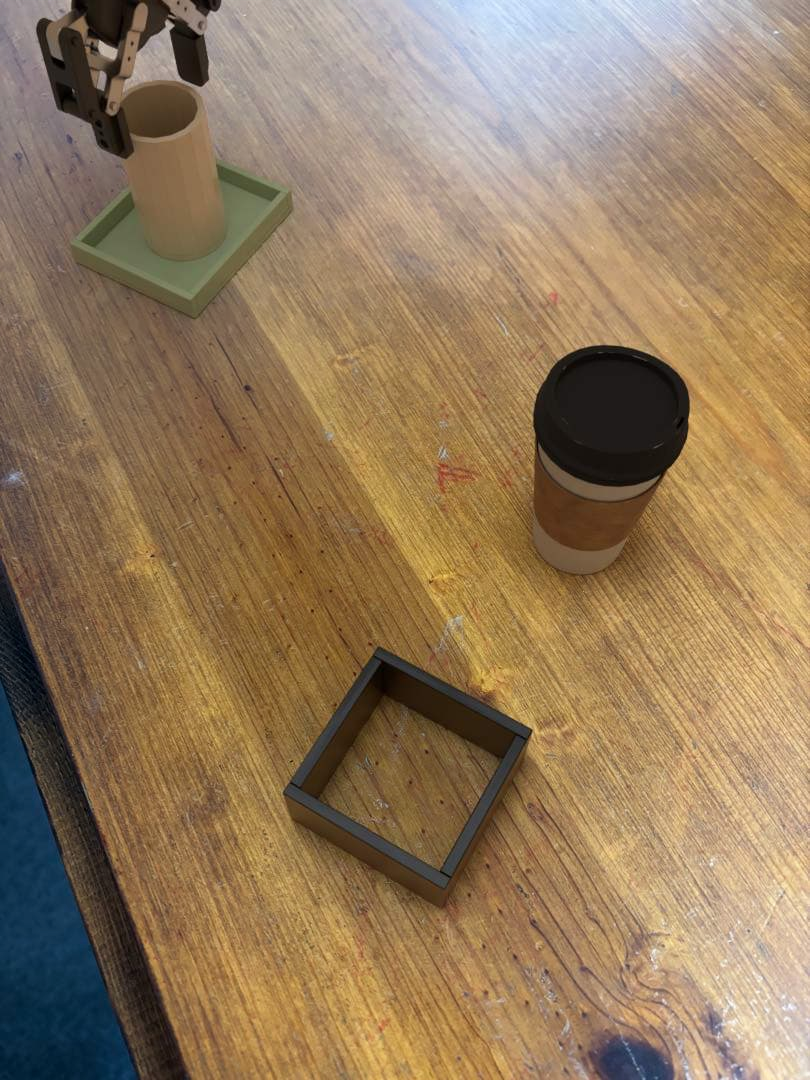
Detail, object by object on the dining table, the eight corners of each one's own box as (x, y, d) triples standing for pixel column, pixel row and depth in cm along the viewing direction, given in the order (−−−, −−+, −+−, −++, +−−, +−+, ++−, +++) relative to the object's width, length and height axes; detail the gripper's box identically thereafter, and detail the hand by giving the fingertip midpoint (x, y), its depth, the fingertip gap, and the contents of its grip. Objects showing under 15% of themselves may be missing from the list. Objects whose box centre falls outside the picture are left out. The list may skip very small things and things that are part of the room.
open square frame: (441, 909, 58) (444, 890, 53) (290, 818, 60) (281, 792, 56) (524, 758, 62) (533, 729, 57) (380, 679, 64) (378, 645, 60)
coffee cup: (607, 615, 66) (656, 485, 53) (489, 553, 69) (509, 414, 56) (663, 517, 70) (723, 373, 57) (549, 461, 72) (582, 310, 59)
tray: (195, 319, 78) (190, 300, 77) (76, 262, 81) (69, 243, 80) (293, 209, 84) (291, 189, 82) (179, 159, 87) (174, 139, 85)
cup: (195, 272, 80) (166, 154, 70) (127, 241, 82) (90, 121, 72) (243, 220, 83) (222, 99, 73) (177, 191, 84) (148, 68, 75)
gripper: (125, -205, 63) (175, 42, 77) (-40, -88, 57) (47, 158, 71) (229, -171, 61) (261, 76, 75) (70, -46, 55) (137, 198, 69)
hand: (157, 116), depth 73 cm, fingers open, 8 cm apart
